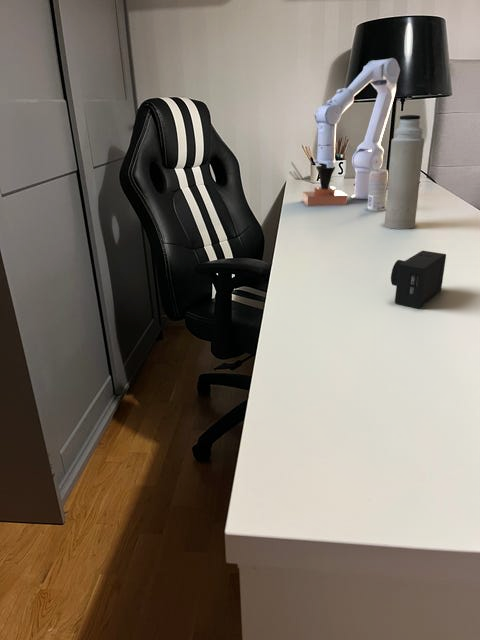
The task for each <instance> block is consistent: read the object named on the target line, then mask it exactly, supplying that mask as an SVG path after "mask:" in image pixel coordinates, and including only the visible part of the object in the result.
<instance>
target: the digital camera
mask: <svg viewBox="0 0 480 640" xmlns="http://www.w3.org/2000/svg"><path fill="white" fill-rule="evenodd" d="M446 260H447V254H446V253H442V252H435V251H428V250H421V251H418V252H417V253H416V254H413V255H412V256H410V257H409V258H407V259H406V260H401V259H397V260H396V261H395V262H394V263H393V266H392V268H391V273H390V283H391V285H392V286H395V297H394V304H396V305H400V306H404V307H410V308H413V309H418V310H419V309H421V308H422V307H423V306H425V305H427V303H428V302H429V301H431V300H432V299H433V298H434V297H436V296H437V295H438V294H439V293H441V292H442V287H443V280H444V274H445V266H446Z"/></svg>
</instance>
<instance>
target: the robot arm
mask: <svg viewBox="0 0 480 640" xmlns="http://www.w3.org/2000/svg"><path fill="white" fill-rule="evenodd" d="M400 72H401V68H400V65H399V63H398V61H397V59H396V58H394V57H390V58H385V59H376V60H375V59H372V60H370V61H368V63H366V65H364V66H363V68H362V71H361V72H360V73H359V74H358V75H357V76H356V77H355V78H354V79H353V81H352V82H351V83H350V84H349V86H348V87H343V88H339V89H337V90H336V91H335V92H336V93H335V94H334V95H333V96H332V97H331V98H330V99H328V100H327V101H326V103H325V105H321V106H320V107H318V108H317V110H316V113H315V114H314V121H315V122H316V128H317V150H316V151H317V153H316V158H315V159H313V162H314V163H318V164H320V165H317V166H315V169H316V170H317V173H318V177H319V182H320V187H321V188H328V187H330V183H331V179H332V175H333V173H334V171H335V170H336V167H335V163H336V138H337V124H339V123H340V120H341V118H342V115H343V113H345V111H346V110H347V109H348V108H349V107H351V105H352V104H353V103H354V101H355V96H356V95H358V94H359V93H360V92H361V91H362V90H363V89H365V87H366V86H368V85H369V84H370V85H371V86H372V87H373V88H374V90H376V92H377V95H376V99H375V102H374V106H373V109H372V113H371V115H370V119H369V123H368V126H367V130H366V133H365V136H364V140H363V141H362V142H361V143H360V144H359V145H358V146H357V147H356V151H355V152H354V153H353V155H352V157H351V165H352V167H353V168H354V172H355V178H354V194H352V195H351V196H350V199H358V200H359V199H361V200H362V199H363V200H368V194H369V180H370V172H371V170H375V169H381V168H382V166H383V162H384V154H385V150H384V148H383V146H381V142H382V139H383V135H384V133H385V130H386V129H385V128H386V125H387V123H388V119H389V115H390V112H391V109H392V107H393V102H394V99H395V96H396V92H397V83H398V79H399V76H400Z"/></svg>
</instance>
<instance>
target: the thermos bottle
mask: <svg viewBox="0 0 480 640" xmlns="http://www.w3.org/2000/svg"><path fill="white" fill-rule="evenodd" d="M420 119H421V115H418V114H406V115H405V114H404V115H400V116H399V120H400V121H399V124H398V127H397V128H396V129H395V131H394V137H393V138H392V139H391V142H390V156H389V167H388V180H387V191H386V203H385V212H384V223H383V225H384V227H385V228H389V229H396V230H409V229H413V228H415V226H416V220H417V210H418V209H417V208H418V200H419V190H420V180H421V173H422V165H423V156H424V155H423V154H424V146H425V138H423V134H424V133H423V129H422V128H421V127H420Z"/></svg>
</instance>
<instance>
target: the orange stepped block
mask: <svg viewBox="0 0 480 640" xmlns="http://www.w3.org/2000/svg"><path fill="white" fill-rule="evenodd" d="M319 187H320V186H314V188H313V190H312V191H302V202H303V203H304V204H305V205H306V206H307V207H321V206H323V207H326V206H347V204H348V194H346V193H345V192H343V191H341V190H336V187H335V186H329V187H330V188H331V189H319Z"/></svg>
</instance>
